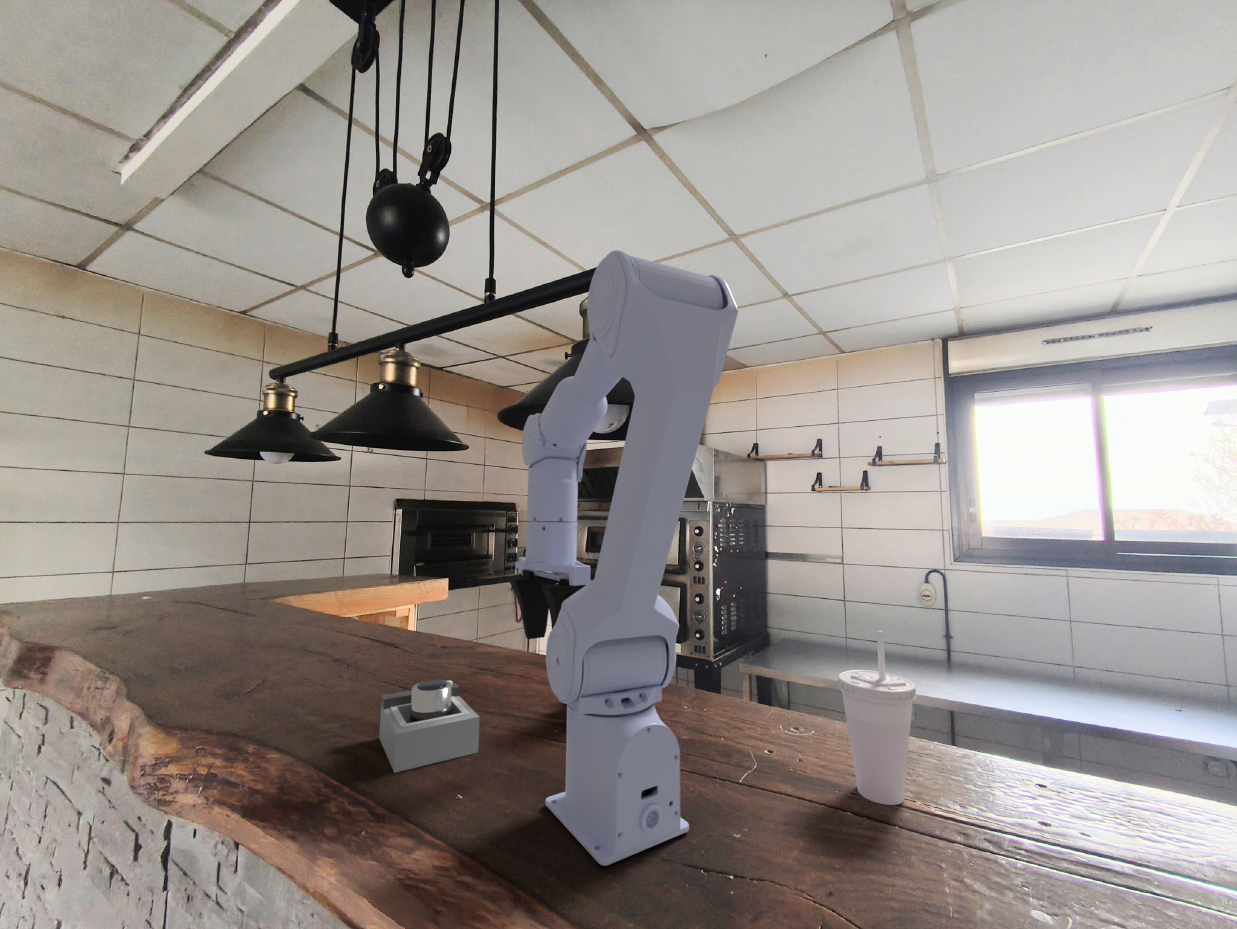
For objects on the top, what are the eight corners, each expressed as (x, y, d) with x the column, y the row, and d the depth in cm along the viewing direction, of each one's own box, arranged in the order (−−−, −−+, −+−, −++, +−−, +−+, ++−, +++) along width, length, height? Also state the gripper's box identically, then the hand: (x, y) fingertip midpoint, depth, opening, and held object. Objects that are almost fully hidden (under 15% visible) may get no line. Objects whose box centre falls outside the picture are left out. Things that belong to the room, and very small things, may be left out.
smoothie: (921, 823, 41) (912, 642, 42) (835, 799, 44) (829, 632, 46) (923, 787, 46) (915, 628, 48) (846, 769, 50) (841, 620, 51)
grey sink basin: (478, 752, 52) (480, 701, 53) (394, 772, 48) (397, 717, 49) (453, 722, 60) (455, 678, 60) (379, 738, 56) (381, 690, 56)
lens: (453, 749, 53) (455, 687, 54) (409, 757, 51) (413, 693, 52) (446, 734, 57) (449, 676, 58) (405, 741, 55) (409, 681, 56)
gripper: (496, 521, 62) (492, 636, 61) (547, 522, 50) (544, 665, 49) (549, 521, 66) (546, 629, 65) (608, 522, 54) (606, 655, 53)
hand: (549, 644), depth 57 cm, fingers open, 7 cm apart
